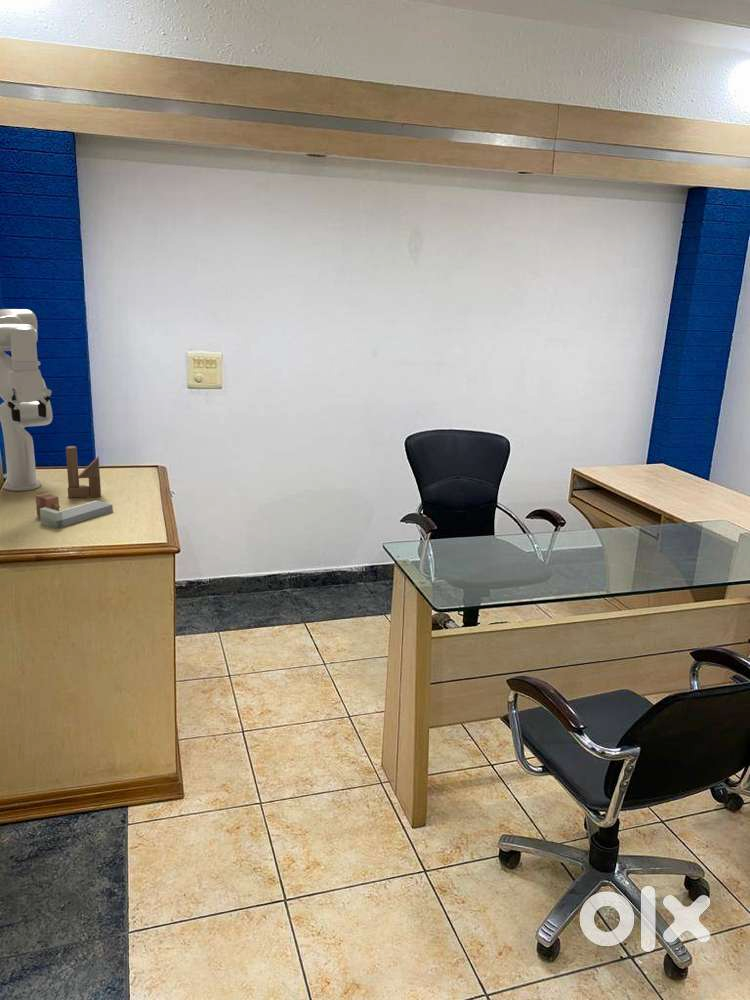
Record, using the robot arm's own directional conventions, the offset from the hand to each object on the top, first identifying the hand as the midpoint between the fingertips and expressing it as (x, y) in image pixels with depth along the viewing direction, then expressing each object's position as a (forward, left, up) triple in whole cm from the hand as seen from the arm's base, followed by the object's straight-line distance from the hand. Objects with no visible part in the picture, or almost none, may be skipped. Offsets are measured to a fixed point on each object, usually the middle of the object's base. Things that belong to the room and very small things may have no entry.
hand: (29, 418), depth 258 cm
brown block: (+12, -4, -30) cm, 33 cm away
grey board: (+19, +1, -30) cm, 36 cm away
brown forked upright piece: (+2, +18, -31) cm, 35 cm away
